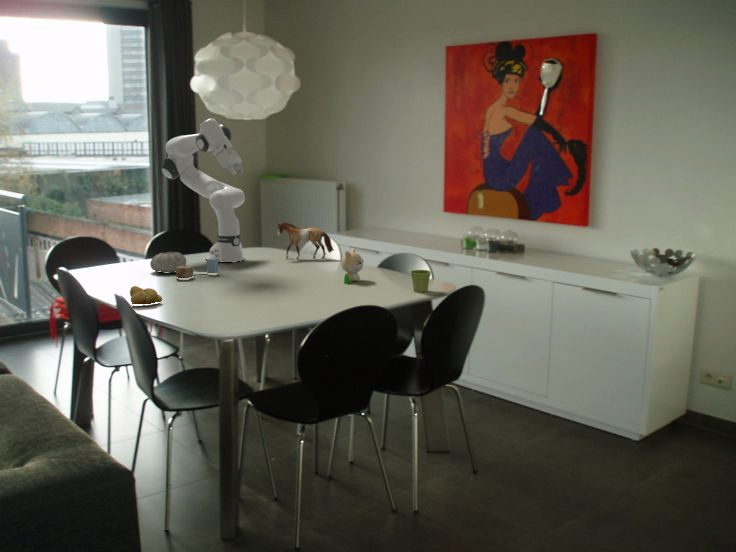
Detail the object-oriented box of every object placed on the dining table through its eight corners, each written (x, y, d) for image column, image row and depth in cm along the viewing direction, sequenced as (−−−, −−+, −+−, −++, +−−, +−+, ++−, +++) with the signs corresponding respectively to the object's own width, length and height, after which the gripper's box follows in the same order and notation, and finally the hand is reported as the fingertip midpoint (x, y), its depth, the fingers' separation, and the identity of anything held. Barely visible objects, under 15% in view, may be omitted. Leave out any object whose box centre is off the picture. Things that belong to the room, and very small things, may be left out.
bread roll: (163, 302, 339) (161, 283, 337) (162, 307, 329) (160, 288, 328) (131, 303, 336) (130, 285, 335) (129, 309, 327) (128, 289, 325)
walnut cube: (176, 280, 385) (176, 268, 384) (182, 277, 390) (181, 265, 389) (188, 280, 384) (187, 268, 382) (193, 278, 389) (193, 266, 388)
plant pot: (435, 290, 354) (435, 270, 353) (425, 294, 346) (425, 274, 345) (416, 288, 359) (416, 269, 357) (406, 292, 351) (406, 272, 349)
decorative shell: (143, 274, 400) (142, 254, 398) (163, 268, 417) (162, 249, 415) (175, 276, 395) (173, 256, 393) (193, 269, 411) (192, 250, 409)
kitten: (357, 284, 368) (356, 252, 365) (336, 283, 371) (336, 251, 369) (367, 278, 382) (367, 247, 379) (347, 277, 385) (347, 246, 382)
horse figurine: (277, 260, 435) (275, 222, 431) (279, 258, 442) (278, 220, 438) (334, 260, 432) (333, 222, 428) (335, 258, 439) (335, 220, 435)
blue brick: (207, 275, 395) (206, 259, 394) (210, 274, 399) (209, 258, 397) (215, 275, 394) (214, 259, 393) (218, 274, 398) (217, 258, 397)
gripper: (225, 151, 402) (240, 175, 403) (210, 153, 382) (226, 178, 383) (235, 144, 400) (250, 168, 401) (221, 146, 380) (236, 171, 381)
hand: (238, 173), depth 392 cm, fingers open, 8 cm apart
